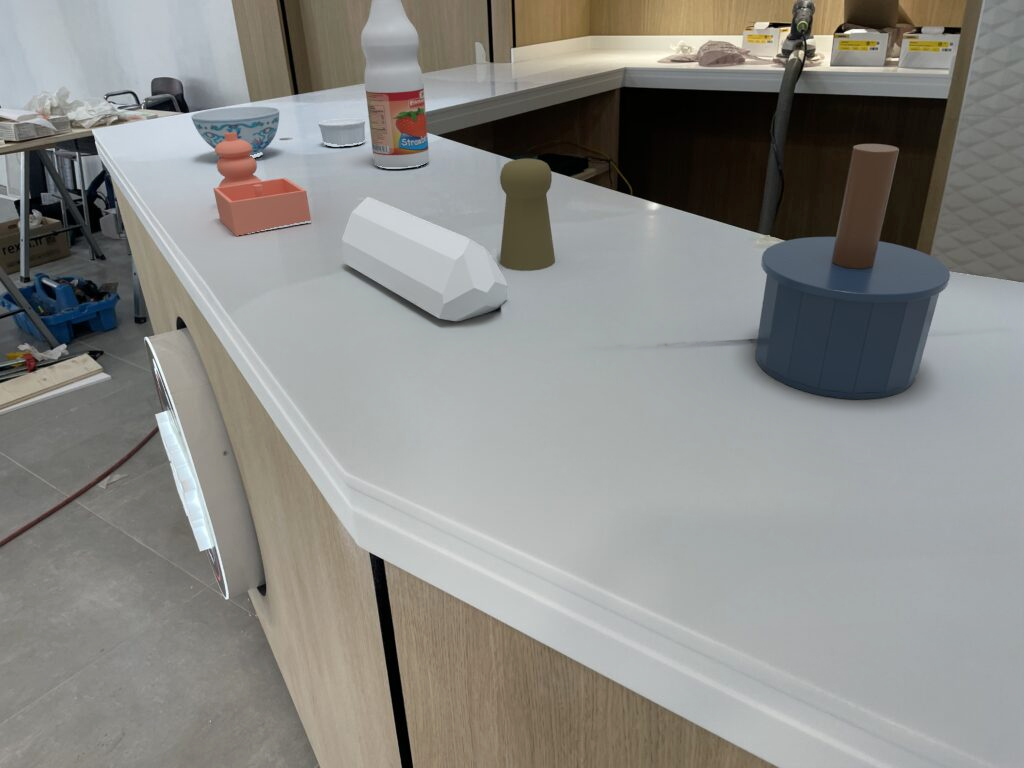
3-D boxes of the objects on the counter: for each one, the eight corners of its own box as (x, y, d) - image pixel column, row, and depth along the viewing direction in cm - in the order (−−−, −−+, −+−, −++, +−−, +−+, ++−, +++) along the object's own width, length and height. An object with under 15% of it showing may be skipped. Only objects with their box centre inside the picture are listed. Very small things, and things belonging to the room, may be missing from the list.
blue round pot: (869, 329, 62) (889, 242, 58) (946, 395, 52) (976, 296, 48) (736, 335, 61) (747, 248, 58) (787, 403, 51) (804, 303, 48)
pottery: (311, 223, 94) (298, 144, 90) (236, 236, 90) (219, 154, 86) (272, 195, 108) (259, 126, 103) (206, 205, 104) (189, 133, 99)
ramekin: (317, 143, 145) (313, 120, 143) (361, 138, 148) (358, 116, 146) (327, 150, 138) (323, 126, 136) (372, 145, 141) (370, 122, 139)
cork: (517, 253, 81) (515, 152, 76) (565, 261, 79) (566, 157, 73) (488, 270, 77) (483, 163, 72) (538, 279, 74) (537, 169, 69)
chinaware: (220, 169, 125) (210, 122, 121) (188, 157, 135) (178, 113, 131) (300, 156, 134) (293, 111, 130) (264, 145, 144) (257, 104, 140)
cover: (890, 248, 59) (917, 128, 54) (985, 307, 48) (1028, 163, 43) (737, 254, 58) (752, 134, 54) (798, 315, 47) (823, 171, 43)
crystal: (537, 266, 66) (406, 212, 83) (478, 242, 61) (352, 190, 78) (506, 342, 67) (383, 274, 84) (445, 324, 62) (329, 255, 79)
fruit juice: (389, 158, 130) (370, -22, 117) (438, 160, 127) (424, -24, 114) (364, 169, 122) (341, -22, 109) (416, 171, 119) (398, -25, 106)
